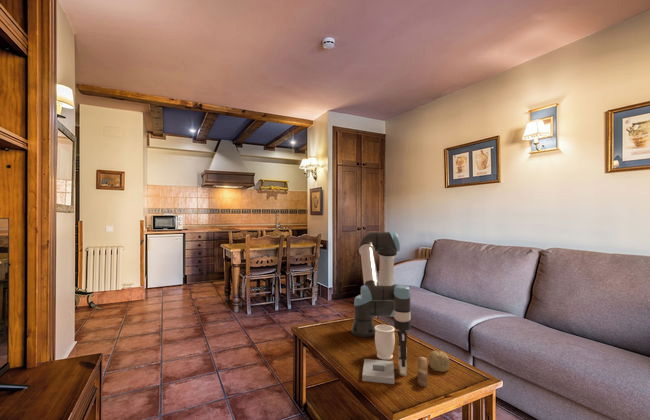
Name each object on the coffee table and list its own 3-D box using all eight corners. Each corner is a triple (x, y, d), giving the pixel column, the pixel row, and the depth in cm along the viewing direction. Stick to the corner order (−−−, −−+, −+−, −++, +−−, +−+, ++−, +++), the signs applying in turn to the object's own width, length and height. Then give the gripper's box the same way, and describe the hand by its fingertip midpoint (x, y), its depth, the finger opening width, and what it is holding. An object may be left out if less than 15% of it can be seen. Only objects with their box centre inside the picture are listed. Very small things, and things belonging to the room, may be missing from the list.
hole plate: (364, 363, 152) (364, 358, 152) (393, 366, 149) (393, 361, 149) (362, 380, 136) (362, 375, 136) (394, 384, 133) (394, 378, 133)
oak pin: (417, 373, 142) (417, 356, 142) (426, 374, 141) (426, 357, 141) (418, 378, 138) (418, 360, 138) (428, 379, 137) (427, 361, 137)
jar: (395, 362, 153) (395, 332, 154) (374, 360, 155) (374, 330, 156) (394, 353, 164) (394, 324, 164) (375, 351, 166) (375, 323, 166)
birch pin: (397, 370, 145) (397, 345, 145) (406, 371, 144) (406, 346, 144) (398, 375, 141) (398, 349, 141) (407, 376, 140) (407, 349, 140)
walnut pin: (417, 381, 135) (417, 370, 135) (426, 382, 135) (426, 371, 135) (418, 386, 131) (418, 374, 131) (428, 387, 131) (428, 375, 131)
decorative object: (428, 370, 152) (421, 357, 149) (441, 356, 155) (434, 342, 152) (443, 381, 144) (436, 367, 141) (456, 366, 147) (450, 351, 144)
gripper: (393, 311, 155) (393, 354, 155) (395, 328, 132) (395, 379, 132) (408, 312, 154) (408, 356, 153) (412, 329, 131) (413, 380, 130)
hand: (402, 366), depth 142 cm, fingers open, 11 cm apart
